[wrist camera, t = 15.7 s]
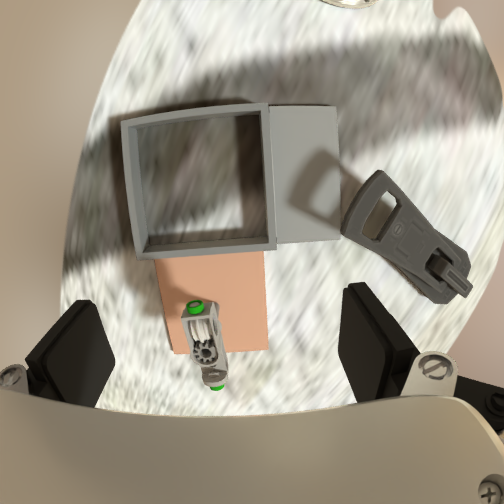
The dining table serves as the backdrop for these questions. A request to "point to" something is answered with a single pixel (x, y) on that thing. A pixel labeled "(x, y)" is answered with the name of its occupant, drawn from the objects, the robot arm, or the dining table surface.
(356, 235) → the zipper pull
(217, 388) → the mechanical component
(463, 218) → the dining table surface
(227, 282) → the rubber mat
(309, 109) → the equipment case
